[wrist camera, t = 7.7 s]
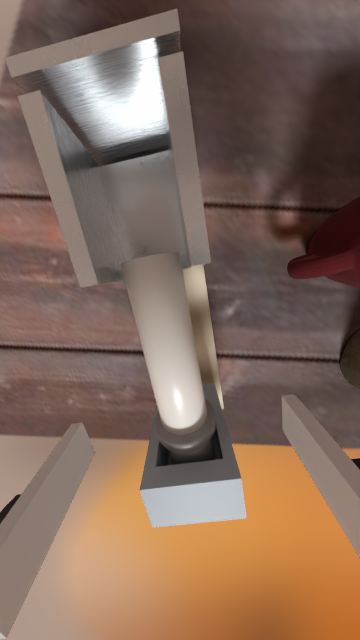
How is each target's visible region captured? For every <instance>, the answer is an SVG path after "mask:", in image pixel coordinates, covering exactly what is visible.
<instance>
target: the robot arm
mask: <svg viewBox="0 0 360 640" xmlns="http://www.w3.org/2000/svg"><path fill="white" fill-rule="evenodd" d="M282 426H283V432H284V433H285V435H286V437H287V438H288V440H289V442H290V443H291V445H292V446H293V448H294V450H295V451H296V453H297V455H298V456H299V458H300V460H301V461H302V463H303V465H304V466H305V468H306V470H307V471H308V473H309V474H310V476H311V478H312V480H313V481H314V483H315V484H316V486H317V488H318V489H319V491H320V493H321V495H322V496H323V498H324V499H325V501H326V503H327V505H328V506H329V508H330V510H331V511H332V513H333V514H334V516H335V517H336V519H337V521H338V523H339V524H340V526H341V528H342V529H343V531H344V533H345V534H346V536H347V538H348V539H349V541H350V543H351V544H352V546H353V548H354V549H355V551H356V553H357V554H358V556H359V558H360V458H359V459H350V458H349V457H348V456H347V454H346V453H345V452H344V451H343V450H342V449H341V447H340V446H339V445H338V444H337V443H336V442H335V441H334V439H333V438H332V437H331V436H330V435H329V434H328V432H327V431H326V430H325V429H324V428H323V427H322V426H321V424H320V423H319V422H318V421H317V420H316V419H315V417H314V416H313V415H312V414H311V413H310V412H309V410H308V409H307V408H306V407H305V406H304V405H303V404H302V402H301V401H300V400H299V399H298V398H297V397H296V395H295V394H293V395H285V396H282ZM94 454H95V451H94V448H93V446H92V444H91V441H90V439H89V437H88V434H87V432H86V430H85V427H84V425H83V423H75V424H71V426H70V427H69V429H68V430H67V431H66V433H65V434H64V436H63V437H62V438H61V440H60V441H59V443H58V444H57V445H56V447H55V448H54V450H53V451H52V452H51V454H50V455H49V457H48V458H47V459H46V461H45V462H44V464H43V465H42V466H41V468H40V469H39V471H38V472H37V474H36V475H35V476H34V478H33V479H32V480H31V482H30V483H29V485H28V486H27V487H26V489H25V490H24V492H23V493H22V494H21V495H16V496H15V497H14V499H13V500H11V501H10V502H9V504H7V505H6V507H4V509H3V510H2V511H1V512H0V639H3V638H7V636H8V634H9V632H10V630H11V628H12V626H13V624H14V622H15V620H16V617H17V615H18V613H19V611H20V609H21V607H22V605H23V603H24V601H25V599H26V597H27V594H28V592H29V590H30V588H31V586H32V584H33V582H34V580H35V578H36V575H37V574H38V571H39V569H40V567H41V565H42V563H43V561H44V559H45V557H46V555H47V552H48V550H49V548H50V546H51V544H52V542H53V540H54V538H55V536H56V533H57V532H58V530H59V527H60V525H61V523H62V521H63V519H64V517H65V515H66V513H67V511H68V509H69V507H70V504H71V502H72V500H73V498H74V496H75V493H76V492H77V490H78V488H79V485H80V483H81V481H82V479H83V477H84V475H85V473H86V471H87V469H88V467H89V465H90V463H91V460H92V458H93V456H94Z"/></svg>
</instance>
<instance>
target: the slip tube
mask: <svg viewBox="0 0 360 640" xmlns="http://www.w3.org/2000/svg"><path fill="white" fill-rule="evenodd" d="M121 268H122V272H123V276H124V279H125V283H126V287H127V291H128V295H129V299H130V302H131V306H132V310H133V314H134V318H135V322H136V326H137V329H138V333H139V337H140V341H141V345H142V349H143V352H144V356H145V360H146V364H147V368H148V372H149V376H150V379H151V383H152V387H153V391H154V395H155V399H156V403H157V406H158V411H157V414H156V416H155V428H156V432H157V436H158V439H159V441H160V442H161V444H162V445H163V446H164V447H165V448H167V449H168V450H169V453H170V456H171V460H172V464H173V465H176V464H184V463H193V462H201V461H209V460H215V455H214V449H213V443H212V436H213V434H214V431H215V428H216V421H215V414H214V409H213V406H212V405H211V403H210V402H209V401H208V400H207V399H206V398H205V397H204V392H203V386H202V380H201V374H200V369H199V363H198V357H197V351H196V346H195V340H194V334H193V329H192V323H191V317H190V311H189V306H188V300H187V294H186V288H185V283H184V277H183V271H182V265H181V260H180V254H179V253H164V254H156V255H150V256H145V257H140V258H136V259H132V260H128V261H125V262H122V263H121Z"/></svg>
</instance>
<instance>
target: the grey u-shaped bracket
mask: <svg viewBox="0 0 360 640" xmlns="http://www.w3.org/2000/svg"><path fill="white" fill-rule="evenodd" d="M5 59H6V62H7V65H8V69H9V72H10V75H11V78H12V79H13V80H14V81H15V82H16V83H17V84H18V85H19V87H20V88H21V89H22V90H23V91H24V92H25V93H26V94H24V95H20V96H18V99H19V102H20V105H21V108H22V111H23V114H24V117H25V120H26V123H27V127H28V130H29V133H30V136H31V139H32V142H33V145H34V148H35V151H36V154H37V157H38V160H39V163H40V166H41V169H42V172H43V175H44V178H45V181H46V185H47V188H48V191H49V194H50V197H51V200H52V203H53V206H54V209H55V212H56V215H57V218H58V221H59V224H60V227H61V230H62V233H63V236H64V240H65V243H66V246H67V249H68V252H69V255H70V258H71V261H72V264H73V267H74V270H75V273H76V276H77V279H78V282H79V285H80V288H81V287H87V286H94V285H100V284H107V283H113V282H120V281H125V279H124V276H123V272H122V268H121V263H122V262H125V261H128V260H132V259H136V258H140V257H145V256H150V255H156V254H164V253H179V254H180V260H181V265H182V270H184V269H190V268H195V267H199V266H202V265H205V264H208V263H211V259H210V252H209V244H208V237H207V229H206V222H205V214H204V206H203V199H202V191H201V184H200V176H199V169H198V161H197V154H196V146H195V138H194V131H193V123H192V116H191V108H190V101H189V93H188V86H187V78H186V70H185V63H184V55H183V51H182V52H180V25H179V18H178V10H177V9H174V10H170V11H167V12H163V13H160V14H156V15H153V16H149V17H146V18H142V19H139V20H135V21H132V22H128V23H125V24H121V25H118V26H114V27H111V28H107V29H104V30H100V31H97V32H93V33H90V34H86V35H83V36H80V37H76V38H73V39H69V40H66V41H62V42H59V43H55V44H52V45H48V46H45V47H41V48H38V49H34V50H31V51H27V52H24V53H20V54H17V55H13V56H10V57H6V58H5Z"/></svg>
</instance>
